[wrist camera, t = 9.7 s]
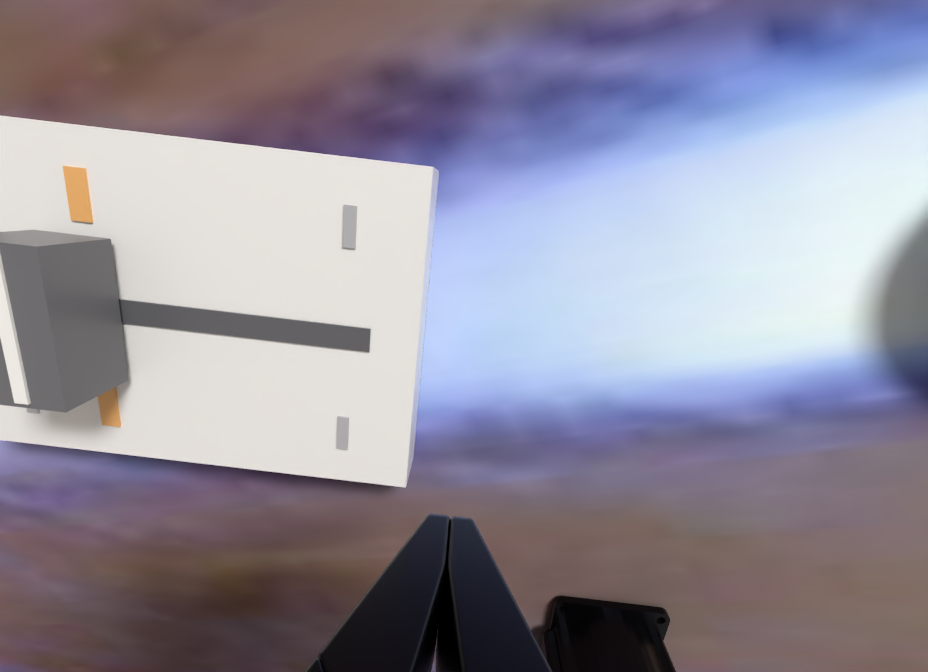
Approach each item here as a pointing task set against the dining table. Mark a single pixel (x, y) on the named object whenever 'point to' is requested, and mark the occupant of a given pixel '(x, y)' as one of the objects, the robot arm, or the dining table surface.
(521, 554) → the dining table surface
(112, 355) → the fader
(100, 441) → the console
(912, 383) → the dining table surface
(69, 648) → the dining table surface
